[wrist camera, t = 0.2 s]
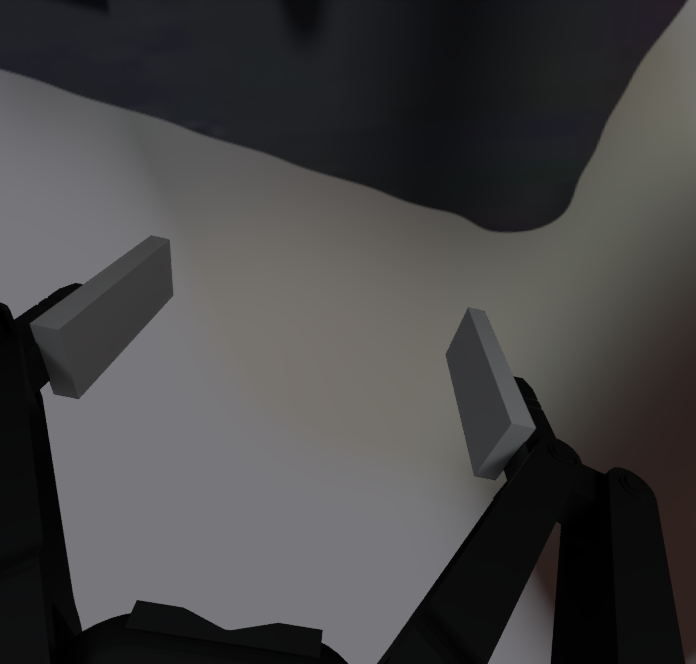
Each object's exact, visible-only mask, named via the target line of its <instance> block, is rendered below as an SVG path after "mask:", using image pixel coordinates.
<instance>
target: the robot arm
mask: <svg viewBox="0 0 696 664" xmlns="http://www.w3.org/2000/svg"><path fill="white" fill-rule="evenodd" d="M172 296H173V285H172V269H171V254H170V240H168V239H164V238H160V237H156V236H150V237H148V238H147V239H146V240H144V241H143V242H141V243H140V244H139V245H137V246H136V247H134V248H133V249H132V250H130V251H129V252H128V253H126V254H125V255H123V256H122V257H121V258H119V259H118V260H117V261H115V262H114V263H112V264H111V265H110V266H108V267H107V268H106V269H104V270H103V271H101V272H100V273H99V274H97V275H96V276H95V277H93V278H92V279H90V280H89V281H88V282H86V283H85V284H84V285H83V284H78V283H74V284H71V285H68V286H66V287H63V288H60V289H58V290H57V291H55V292H54V293H52V294H51V295H50V296H48V298H45V299H44V300H42V301H41V302H39V304H38V305H35V306H33V307H32V308H31V309H29V310H28V311H27V312H25V313H23V314H22V315H21V316H19V317H18V318H16V319H15V320H14V319H13V316H12V314H11V311H10V309H9V308H8V306H7V305H5V304H3V303H0V664H348V663H347V662H346V661H345V660H344V659H343V658H342V657H341V656H340V655H339V654H338V653H337V652H335V651H334V650H333V649H331V648H330V647H329V646H327V645H325V644H323V643H321V641H322V631H323V630H320V629H313V628H307V627H301V626H294V625H289V624H282V623H274V624H268V625H261V626H255V627H249V628H242V629H237V630H225V629H223V628H221V627H218V626H217V625H215V624H213V623H211V622H210V621H208V620H206V619H204V618H202V617H200V616H198V615H196V614H194V613H193V612H191V611H189V610H187V609H185V608H182V607H176V606H170V605H164V604H158V603H152V602H146V601H139V600H137V601H136V603H135V606H134V608H133V610H132V612H131V613H130V614H124V615H121V616H117V617H113V618H110V619H108V620H105V621H103V622H100V623H98V624H96V625H94V626H92V627H90V628H88V629H86V630H84V631H82V627H81V623H80V619H79V616H78V612H77V609H76V606H75V601H74V597H73V591H72V584H71V579H70V571H69V565H68V558H67V552H66V546H65V539H64V533H63V526H62V520H61V513H60V507H59V500H58V494H57V488H56V481H55V475H54V468H53V462H52V455H51V449H50V442H49V437H48V430H47V423H46V417H45V411H44V404H43V398H42V394H41V392H40V389H41V388H42V387H43V386H44V385H45V384H46V383H47V382H48V381H49V382H50V385H51V387H52V390H53V393H54V394H55V395H60V396H66V397H71V398H76V399H79V398H80V397H81V396H82V395H83V394H84V393H85V392H86V390H87V389H88V388H89V387H90V386H91V385H92V384H93V383H94V382H95V381H96V380H97V379H98V377H99V376H100V375H101V374H102V373H103V372H104V371H105V370H106V369H107V368H108V366H109V365H110V364H111V363H112V362H113V361H114V360H115V359H116V358H117V356H118V355H119V354H120V353H121V352H122V351H123V350H124V349H125V348H126V347H127V346H128V345H129V343H130V342H131V341H132V340H133V339H134V338H135V337H136V336H137V335H138V334H139V332H140V331H141V330H142V329H143V328H144V327H145V326H146V325H147V324H148V323H149V321H150V320H151V319H152V318H153V317H154V316H155V315H156V314H157V313H158V311H159V310H160V309H161V308H162V307H163V306H164V305H165V304H166V303H167V302H168V301H169V299H170V298H171V297H172ZM446 358H447V362H448V366H449V371H450V375H451V379H452V383H453V387H454V392H455V396H456V401H457V404H458V409H459V413H460V418H461V422H462V426H463V431H464V435H465V439H466V443H467V447H468V452H469V456H470V460H471V464H472V469H473V473H474V476H476V477H481V478H487V479H492V480H496V479H497V478H498V477H499V475H500V474H501V473H502V471H503V470H504V472H505V475H506V478H507V482H506V483H505V484H504V485H503V487H502V488H501V489H500V490H499V491H498V493H497V494H496V495H495V496H494V498H493V501H492V502H491V504H490V505H489V507H488V508H487V509H486V511H485V512H484V514H483V515H482V516H481V518H480V519H479V521H478V522H477V523H476V525H475V526H474V528H473V529H472V531H471V532H470V533H469V535H468V536H467V538H466V539H465V540H464V542H463V543H462V545H461V546H460V548H459V549H458V551H457V552H456V553H455V555H454V556H453V558H452V559H451V560H450V562H449V563H448V565H447V566H446V567H445V569H444V571H443V572H442V573H441V575H440V576H439V578H438V579H437V580H436V582H435V583H434V585H433V586H432V588H431V589H430V590H429V592H428V593H427V595H426V596H425V597H424V599H423V600H422V602H421V603H420V605H419V606H418V607H417V609H416V610H415V612H414V613H413V614H412V616H411V617H410V619H409V620H408V622H407V623H406V625H405V626H404V627H403V629H402V630H401V631H400V633H399V634H398V636H397V637H396V639H395V640H394V641H393V643H392V644H391V646H390V647H389V648H388V650H387V651H386V653H385V654H384V655H383V656H382V658H381V659H380V660H379V662H378V663H377V664H488V662H489V659H490V657H491V656H492V653H493V651H494V649H495V647H496V645H497V643H498V641H499V639H500V637H501V635H502V633H503V631H504V629H505V626H506V625H507V622H508V620H509V618H510V616H511V614H512V612H513V610H514V608H515V606H516V604H517V602H518V600H519V597H520V595H521V593H522V591H523V589H524V587H525V585H526V583H527V581H528V579H529V577H530V575H531V573H532V571H533V569H534V567H535V565H536V563H537V560H538V558H539V556H540V554H541V552H542V550H543V548H544V546H545V544H546V542H547V540H548V538H549V536H550V534H551V532H552V529H553V527H554V525H555V523H556V522H558V523H560V524H561V535H560V548H559V560H558V561H559V562H558V574H557V587H556V600H555V613H554V627H553V640H552V653H551V654H552V655H551V664H685V660H684V654H683V648H682V642H681V636H680V631H679V625H678V620H677V614H676V608H675V602H674V597H673V591H672V585H671V579H670V575H669V568H668V563H667V557H666V551H665V545H664V539H663V534H662V528H661V522H660V517H659V511H658V505H657V500H656V497H655V495H654V492H653V491H652V490H651V488H650V487H649V486H648V485H647V483H646V482H645V481H644V480H642V479H641V478H640V477H639V476H637V475H636V474H634V473H633V472H631V471H629V470H626V469H623V468H618V467H614V468H612V469H610V470H609V471H608V472H607V473H606V474H603V473H600V472H598V471H596V470H594V469H592V468H590V467H587V466H585V465H583V464H582V462H581V460H580V457H579V456H578V454H577V453H576V452H575V451H574V449H572V448H571V447H570V446H569V445H568V444H566V443H564V442H563V441H561V440H559V439H556V437H555V435H554V433H553V431H552V428H551V426H550V424H549V422H548V420H547V418H546V416H545V414H544V412H543V410H541V406H540V404H539V402H538V401H537V397H536V395H535V393H534V391H533V389H532V388H531V387H530V386H529V385H528V383H527V382H526V381H525V380H524V379H523V378H519V377H514V376H513V375H512V372H511V370H510V368H509V366H508V363H507V361H506V359H505V356H504V354H503V352H502V350H501V348H500V345H499V343H498V341H497V338H496V336H495V334H494V331H493V329H492V327H491V325H490V322H489V320H488V318H487V316H486V313H485V311H482V310H477V309H472V308H469V307H468V309H467V311H466V313H465V315H464V318H463V319H462V322H461V324H460V326H459V328H458V330H457V332H456V334H455V336H454V338H453V341H452V342H451V344H450V347H449V349H448V351H447V353H446Z"/></svg>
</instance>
